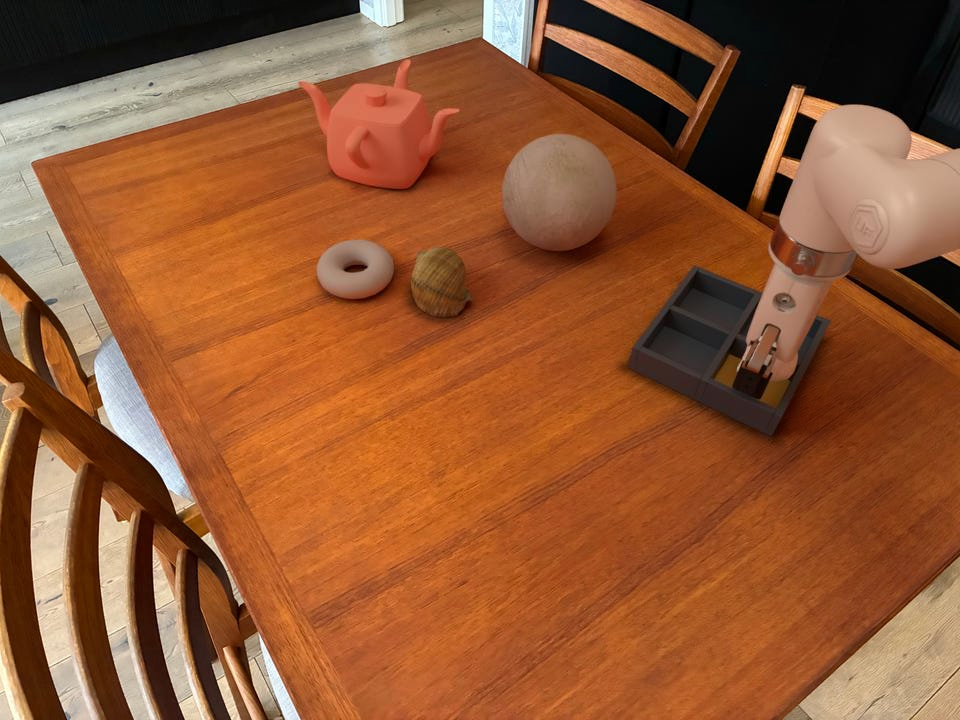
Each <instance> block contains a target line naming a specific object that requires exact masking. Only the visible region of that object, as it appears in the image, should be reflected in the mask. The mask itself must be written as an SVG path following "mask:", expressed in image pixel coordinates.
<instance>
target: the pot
mask: <svg viewBox="0 0 960 720" xmlns="http://www.w3.org/2000/svg"><path fill="white" fill-rule="evenodd" d="M411 63H412V61H411V59H404V60H403V61H402V62H401V63H400V64H399V66H398V68H397V72H396V76H395V80H394V83H393V86H391V85H384V84H375V83H363V82H361V83H355V84H353V85H352V86H351V87H350V88H348V89H347V90H346V91H345V93H343V95H342V96H341V97H340V98H339V99H338V101H337V102H336V103H335V105H333V107H332V108H331V106H330V104H329V102H328V100H327V98H326V97H325V94H324V93H323V92H322V90H321V89H320V88H319V87H318V86H316V85H315V84H313V83H311V82H308V81H303V80H300V81H297V84H298V86H299V87H301V88H302V89H303V90H304V92H306V93H307V94H308V95H309V97H310V99H311V100H312V102H313V105H314V110H315V113H316V117H317V122H318V125H319V127H320V129H321V131H322V133H323V134H324V136H325V137H326V152H327V154H326V155H327V161H328V164H329V166H330V168H331V169H332V171H333V172H334V174H335V175H336V176H338V177H340V178H342V179H345V180H348V181H351V182H354V183H356V184H357V183H359V184H361V185H366V186H371V187H377V188H384V189H394V190H404V189H405V190H406V189H409V188H411V187H412V186H413V185H414V184H415V183H416V181H417V180H418V179H419V177H420V176H421V175H422V173H423V171H424V170H425V168H426V167H427V165H428V163H429V161H430V159H431V158H433V156H434V155H436V153H438V151H439V149H440V148H441V145H442V143H443V137H444V131H445V125H446V123H447V120H448V119H449V118H450V117H452V116H453V115H457V114H458V113H459V112H460V109H459V108H452V107H450V108H449V107H447V108H443V109H440V110H439V111H438V112H437V113H436V114H435V115H434V117H433V120H432V119H431V116H430V113H429V110H428V106H427V103H426V101H425V99H424V96H423V95H422V94H420V93H418V92H415V91H412V90H410V89H409V88H410V87H409V73H410V68H411Z"/></svg>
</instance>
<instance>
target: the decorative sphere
mask: <svg viewBox="0 0 960 720" xmlns="http://www.w3.org/2000/svg"><path fill="white" fill-rule="evenodd" d="M617 193H618V191H617V180H616V176H615V172H614V169H613V167H612V166H611V163H610V161H609V159H608V158H607V157H606V155H605V154H604V153H603V152H602V151H601V149H600V148H599V147H597V146H596V145H595V144H594V143H592V142H591V141H589V140H587V139H585V138H583V137H580V136H578V135H575V134H569V133H551V134H548V135H547V134H546V135H544V136H541V137H538V138H536V139H534V140H532V141H530V142H528V143H527V144H526V145H525V146H523V147H522V148H520V150H519V151H518V152H517V153H516V154H515V155H514V157H513V158H512V159H511V161H510V162H509V164H508V166H507V168H506V171H505V174H504V177H503V180H502V184H501V202H502V208H503V211H504V214H505V217H506V220H507V221H508V223H509V225H510V227H511V228H512V229H513V231H514V232H515V233H516V234H517V236H519V237H520V238H521V239H522V240H524V241H525V242H527V243H528V244H530V245H532V246H534V247H536V248H538V249H542V250H544V251H545V250H546V251H550V252H564V251H565V252H566V251H570V250H573V249H576V248H577V249H578V248H580V247H582V246H585V245H586V244H588V243H589V242H590V241H593V239H595V238H596V237H598V236H599V234H600V233H602V232H603V230H604V229H605V227H606V226H607V225H608V223H609V221H610V219H611V217H612V215H613V212H614V210H615V207H616V203H617Z"/></svg>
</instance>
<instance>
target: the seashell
mask: <svg viewBox="0 0 960 720" xmlns="http://www.w3.org/2000/svg"><path fill="white" fill-rule="evenodd" d="M465 265H466V264H465V263H464V260H462V258H461V256H460V255H458V253H457V252H456V251H454V250H452V249H450V248H448V247H445V246H435V247H433V248H430V249H427V250H423V251H418V252H417V255H416V260H415V262H414V268H413V270H412V273H411V276H410V289H411V292H412V293H411V294H412V298H413V301H414V303H415V305H416V306H417V307H418V309H420V310H421V311H422V312H423V313H425V314H428V315H430V316H433V317H435V318H444V319H445V318H453V317H457V316H458V315H459V314H460V312H461V311H462V310H463V309H464V308H465V305H466V303H467V302H468V303H473V299H472V293H471V291H470V290H469V289H467V286H466V278H467V270H466V266H465Z"/></svg>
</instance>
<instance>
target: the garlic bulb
mask: <svg viewBox="0 0 960 720" xmlns="http://www.w3.org/2000/svg"><path fill="white" fill-rule="evenodd" d="M761 338H762V336H760V339H759V341H760V340H761ZM750 347H751V345H750V346H747V348H746V352H745V354H744V356H743V358H742V361H743V360H745V358H746V356H747V354H748V351H749V349H750ZM773 347H775V348H776V342H774V344H773ZM771 357H772V355H769V354H768V356H767V358H766V360H765V362H764V364H765V365H766V366H767V365H768V363H769V361H770V359H771ZM797 359H798V352H797V354H796V355H795V357H794V359H793V360H792V361H790V362H784V361H782V360H779V359H778V358H777V360H776V362H775V364H774V366H773V368H772V370H771V372H772V373H773V374H772V377H771V379H770V381H769V382H777V381H780V380H786V379H788V378H789V377H790V376H791V375H792V374H793V372H794V370H795V367H796V364H797ZM742 361H741V362H740V364H739V365H738V367H737V372H738V370H739V367H740V365H741V363H742Z"/></svg>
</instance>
